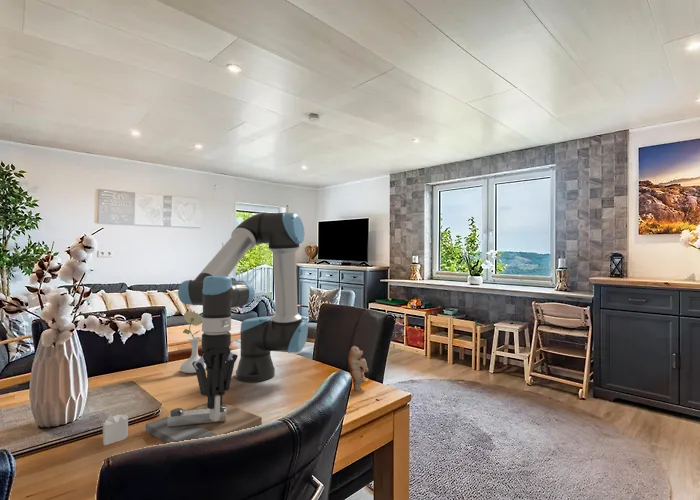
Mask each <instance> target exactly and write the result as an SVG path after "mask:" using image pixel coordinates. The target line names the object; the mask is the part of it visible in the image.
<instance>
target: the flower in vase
mask: <svg viewBox="0 0 700 500" xmlns="http://www.w3.org/2000/svg"><path fill="white" fill-rule="evenodd" d="M183 314H184V315H183V319H185V320H184V321H185V322H186V323H187V324H189V327H188V329H187V328H184V329H183V331H182V334H183V333H184V334H187V335H190V336H191V337H188V338H187V339H188V340H189V342H190V344H191V345H190V346H191V355H190V356H189V358H188V359H187V360H185V361H184V362H183V363H182V364H181V366H179V371H181V372H182V373H186V374H194V373H195V374H196V370H195V368H194V367H193V365H192V363H193V362H194V361H198V360H199V359H200V358H201V356H200V355H199V352H198V351H199V350H198V349H199V342H200V341H201V340H202V336H201V337H200V336H194V335H196V334H199V332H200V330H198V331H195V332H194V333H192V331H191V325H192V326H195V327H197V326H200V325H202V317H201V314H199V313H198V312H196V311H194V310H193V311H192V310H187V311H185V312H184V313H183ZM204 365H205V366H204V369H205V371H207V370H206V364H205V363H204Z"/></svg>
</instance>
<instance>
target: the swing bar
mask: <svg viewBox="0 0 700 500" xmlns="http://www.w3.org/2000/svg"><path fill="white" fill-rule="evenodd" d="M186 410H187V411H185V410H184V409H183V408H182V407H181V408H180V407H177V408H173V409H171V410H170V412H169V414H168V415H167V417H168V426H178V425H188V424H199V423H210V422H215V421H213V420H210V419H209V416H210V409H199V410H188V409H186ZM226 418H227V407H225V406H223V405H222V406H220V420H218V421H216V422H220V421H226Z"/></svg>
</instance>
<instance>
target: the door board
mask: <svg viewBox="0 0 700 500" xmlns="http://www.w3.org/2000/svg"><path fill="white" fill-rule="evenodd" d="M207 403H208V402H205V403H203V404H200V405H197V406H194V407H191V408H188V409H184V411H187V410H199V409H209V408H208V407H207ZM222 405H223V406H225V407H227V418H226V421H220V422H210V423H199V424H188V425H178V426H168V416H165V417H163V418H159V419H157V420H154V421H151V422H148V423H146V424H145V432H146V433H147V434H149V435H151V436H153V437H154V438H157V439H159V440H160V441H162V442H164V443H166V444H167V443H170V442H179V441H184V440H191V439H199V438H205V437H212V436H217V435H221V434H227V433H230V432H234V431H239V430H242V429H247V428H251V427H254V426H257V427H259V426H261V425H262V424H263V423H262V422H263V421H262V419H263V418H262V416H260V415H256V414H255V413H251V412H249V411H246V410H244V409H240V408H238V407H236V406H232V405H230V404H227V403H225V402H222ZM258 425H259V426H258ZM254 428H255V427H254Z"/></svg>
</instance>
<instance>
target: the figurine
mask: <svg viewBox="0 0 700 500" xmlns="http://www.w3.org/2000/svg"><path fill="white" fill-rule="evenodd" d="M362 355H364V351H363V350H361V349H360V348H359V347H358V346H356V345H352V346H351V348H350V349H349V351H348V357H347V363H348V367H349V373H350V376H352V377H351V380H352V379H353V380H352V383H353V389H354V390H355V391H360V390H362V387H361V385H362V384H364V383H367V382H369V377H368V378H367V377H365V373H368V372H369V368H368V364H367V361H366V359H365V358H362Z"/></svg>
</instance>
